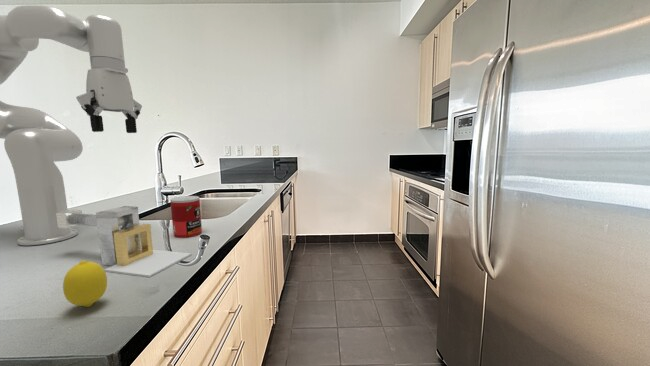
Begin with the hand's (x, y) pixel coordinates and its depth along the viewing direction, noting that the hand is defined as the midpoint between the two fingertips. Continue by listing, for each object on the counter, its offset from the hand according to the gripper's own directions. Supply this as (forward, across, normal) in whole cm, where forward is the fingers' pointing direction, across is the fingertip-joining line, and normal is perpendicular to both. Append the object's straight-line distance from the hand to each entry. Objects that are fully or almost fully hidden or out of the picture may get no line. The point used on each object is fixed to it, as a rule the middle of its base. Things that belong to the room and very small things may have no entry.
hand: (115, 132), depth 79 cm
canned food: (+31, -7, +15) cm, 35 cm away
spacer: (+26, +13, +18) cm, 34 cm away
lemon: (+31, +30, +27) cm, 51 cm away
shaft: (+23, +13, +6) cm, 27 cm away
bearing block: (+30, +13, +14) cm, 36 cm away
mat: (+30, +13, +22) cm, 40 cm away
